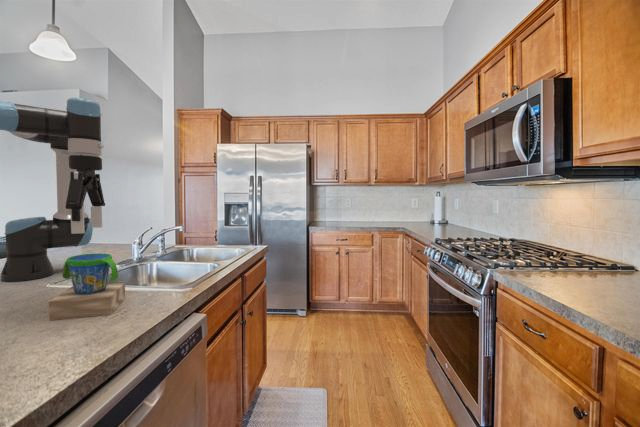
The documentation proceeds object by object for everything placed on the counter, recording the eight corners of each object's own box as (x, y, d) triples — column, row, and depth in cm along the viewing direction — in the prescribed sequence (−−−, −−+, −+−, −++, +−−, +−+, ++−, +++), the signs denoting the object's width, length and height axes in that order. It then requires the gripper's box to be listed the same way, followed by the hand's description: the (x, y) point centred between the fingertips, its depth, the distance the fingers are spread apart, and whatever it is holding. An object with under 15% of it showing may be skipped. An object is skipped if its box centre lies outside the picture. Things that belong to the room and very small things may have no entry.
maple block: (72, 302, 94) (72, 286, 94) (125, 298, 99) (124, 282, 98) (49, 320, 81) (48, 301, 81) (111, 314, 86) (110, 296, 85)
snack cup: (128, 287, 94) (127, 254, 93) (96, 299, 83) (95, 261, 83) (86, 283, 97) (84, 251, 96) (50, 294, 86) (49, 258, 86)
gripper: (83, 151, 77) (86, 235, 78) (114, 160, 100) (116, 225, 102) (46, 149, 74) (49, 236, 76) (87, 159, 98) (89, 225, 99)
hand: (88, 230), depth 89 cm, fingers open, 13 cm apart
